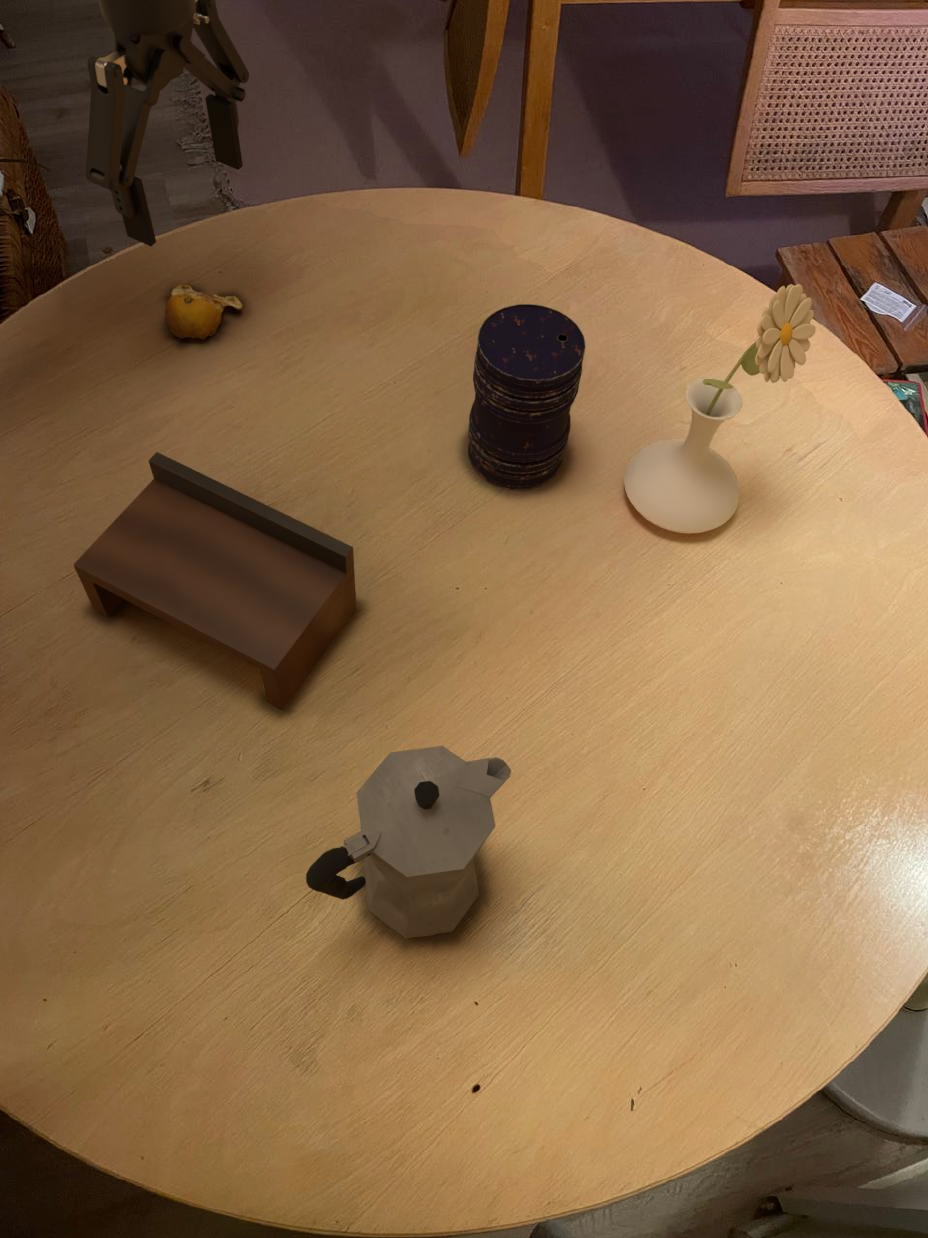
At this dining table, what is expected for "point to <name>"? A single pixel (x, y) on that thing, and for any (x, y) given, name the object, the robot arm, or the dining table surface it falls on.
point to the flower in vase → (689, 469)
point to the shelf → (225, 573)
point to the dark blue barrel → (523, 395)
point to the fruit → (195, 312)
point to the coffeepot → (417, 839)
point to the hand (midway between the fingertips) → (187, 200)
